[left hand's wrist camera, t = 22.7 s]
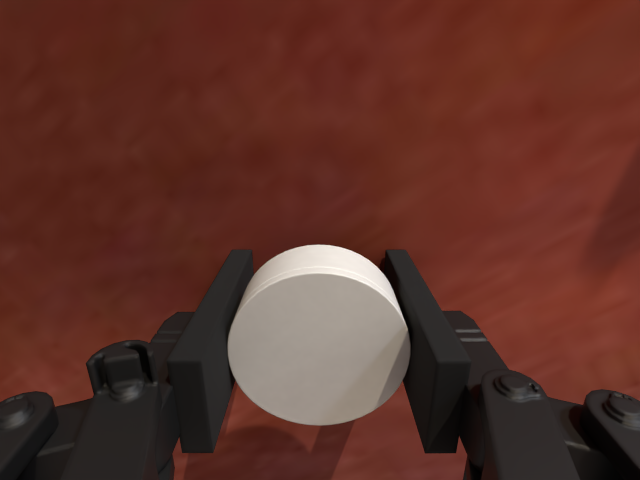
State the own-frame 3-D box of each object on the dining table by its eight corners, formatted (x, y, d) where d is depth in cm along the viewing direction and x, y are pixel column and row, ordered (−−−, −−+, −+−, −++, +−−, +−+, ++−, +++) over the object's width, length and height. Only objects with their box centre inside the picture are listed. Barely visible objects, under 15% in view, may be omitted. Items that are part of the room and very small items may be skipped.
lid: (430, 303, 12) (449, 341, 10) (333, 402, 14) (335, 451, 12) (302, 211, 11) (298, 234, 9) (211, 329, 13) (192, 370, 11)
